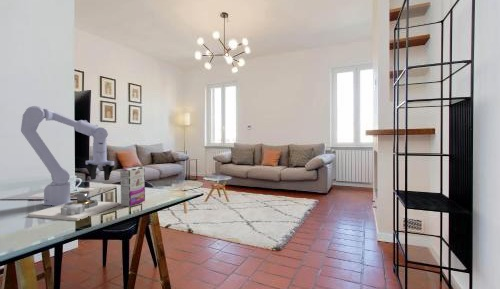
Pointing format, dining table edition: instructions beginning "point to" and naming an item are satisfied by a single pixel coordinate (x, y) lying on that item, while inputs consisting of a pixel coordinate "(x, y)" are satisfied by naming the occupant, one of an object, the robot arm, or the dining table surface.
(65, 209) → the carrier plate
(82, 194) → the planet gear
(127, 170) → the candy bar box
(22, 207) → the dining table surface
